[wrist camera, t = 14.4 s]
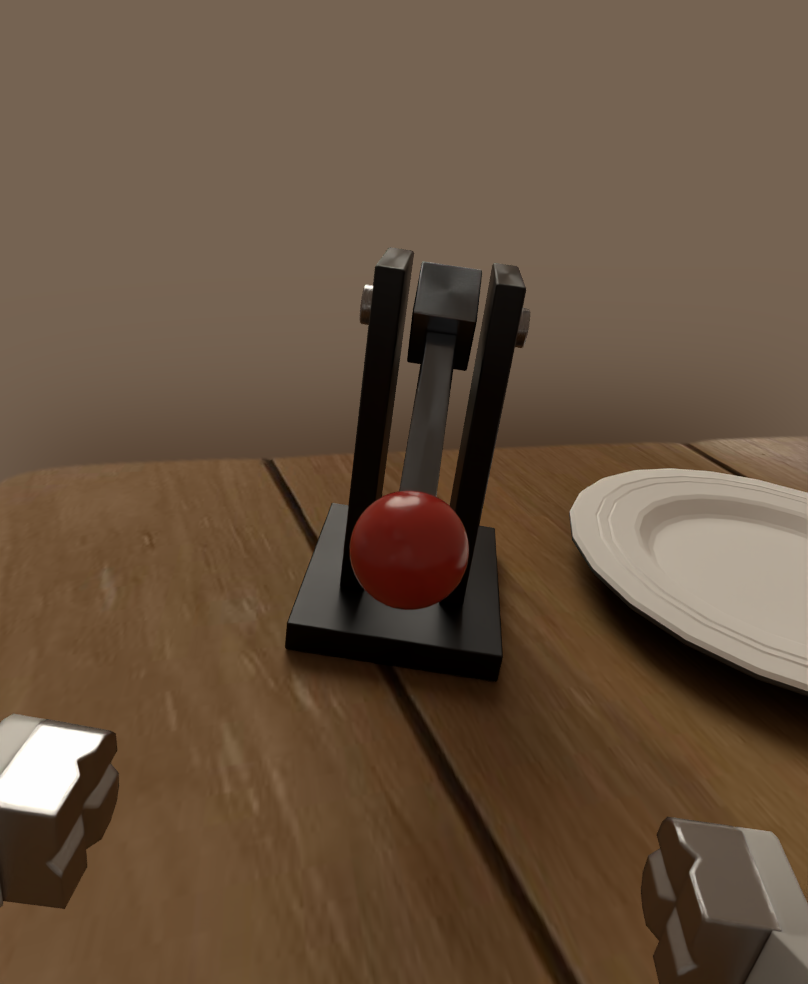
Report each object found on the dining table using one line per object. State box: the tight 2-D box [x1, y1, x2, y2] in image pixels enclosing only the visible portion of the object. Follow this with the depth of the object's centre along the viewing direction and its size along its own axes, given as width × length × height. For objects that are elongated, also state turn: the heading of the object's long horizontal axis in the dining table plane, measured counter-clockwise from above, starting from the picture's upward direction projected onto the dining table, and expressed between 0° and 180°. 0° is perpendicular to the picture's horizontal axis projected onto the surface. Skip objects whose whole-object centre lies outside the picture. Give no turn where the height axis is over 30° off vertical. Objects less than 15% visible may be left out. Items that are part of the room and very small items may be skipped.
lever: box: [349, 262, 482, 610], centre depth 24 cm, size 13×3×3 cm, turn 175°
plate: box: [569, 468, 808, 697], centre depth 36 cm, size 21×21×2 cm
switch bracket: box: [285, 248, 530, 682], centre depth 30 cm, size 10×8×14 cm
